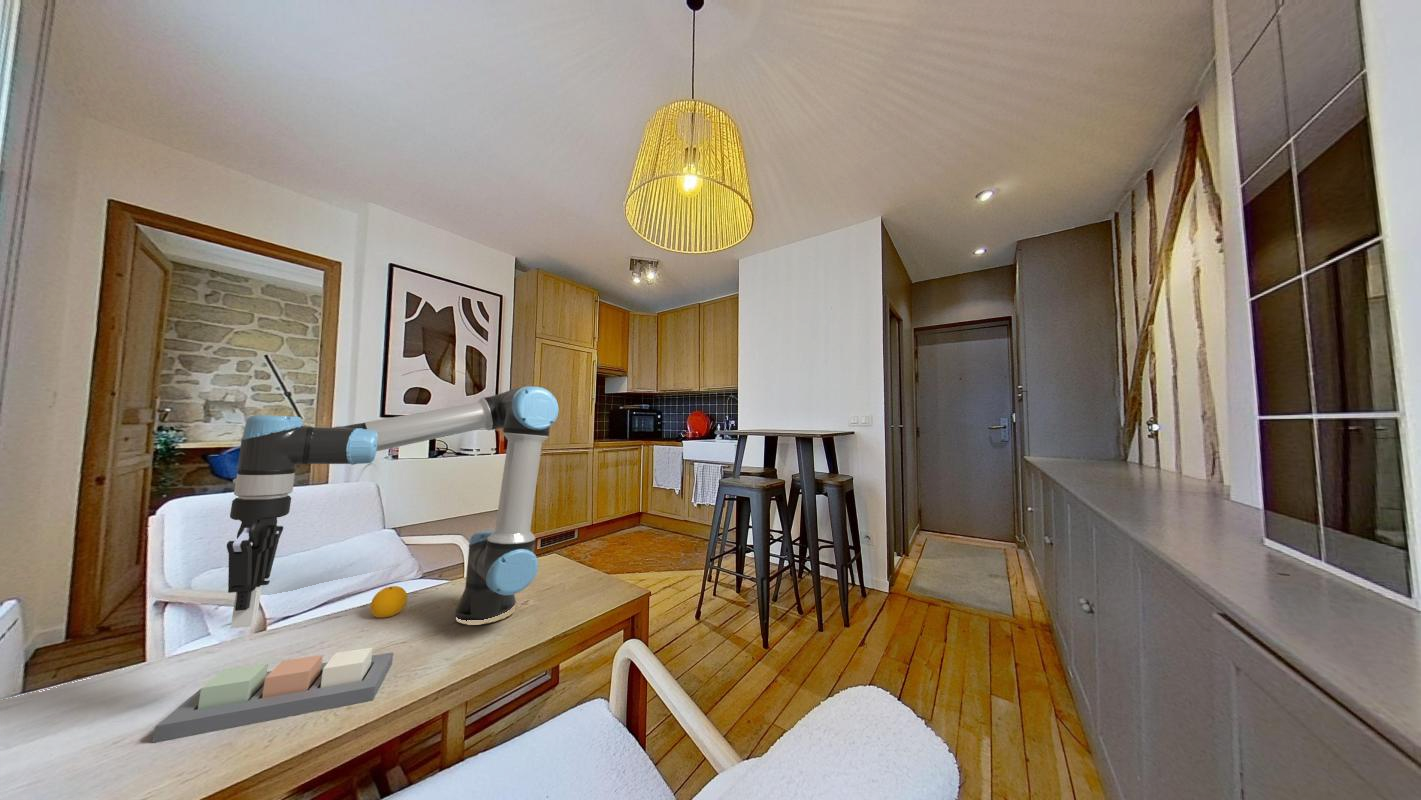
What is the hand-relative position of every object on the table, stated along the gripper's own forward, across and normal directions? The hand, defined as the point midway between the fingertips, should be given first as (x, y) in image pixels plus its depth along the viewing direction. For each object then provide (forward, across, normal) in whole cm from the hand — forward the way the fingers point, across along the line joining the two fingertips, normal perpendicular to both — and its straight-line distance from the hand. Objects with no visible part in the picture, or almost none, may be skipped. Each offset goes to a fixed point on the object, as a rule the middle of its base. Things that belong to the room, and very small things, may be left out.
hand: (243, 625), depth 74 cm
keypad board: (+14, 0, +8) cm, 17 cm away
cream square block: (+12, 0, +16) cm, 20 cm away
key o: (+12, 0, 0) cm, 12 cm away
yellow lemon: (+15, -35, +15) cm, 41 cm away
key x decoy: (+12, 0, +8) cm, 15 cm away
